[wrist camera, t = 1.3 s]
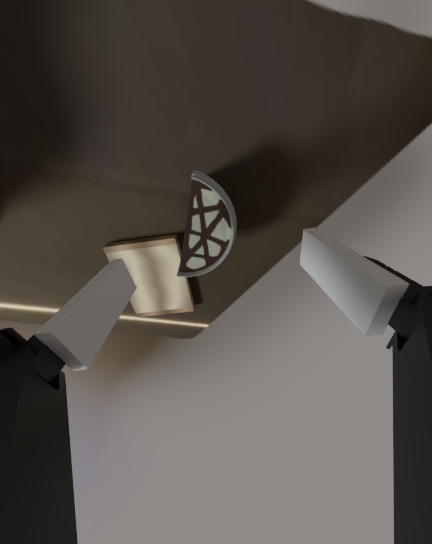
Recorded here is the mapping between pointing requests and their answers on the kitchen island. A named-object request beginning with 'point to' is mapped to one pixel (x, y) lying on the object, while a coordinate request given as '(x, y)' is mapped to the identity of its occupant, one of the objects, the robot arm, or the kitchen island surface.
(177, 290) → the board
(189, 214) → the food container
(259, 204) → the kitchen island surface
